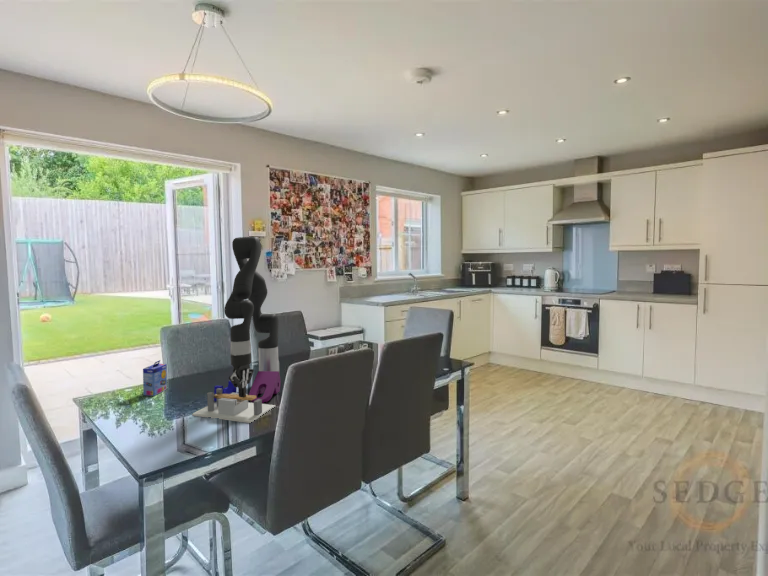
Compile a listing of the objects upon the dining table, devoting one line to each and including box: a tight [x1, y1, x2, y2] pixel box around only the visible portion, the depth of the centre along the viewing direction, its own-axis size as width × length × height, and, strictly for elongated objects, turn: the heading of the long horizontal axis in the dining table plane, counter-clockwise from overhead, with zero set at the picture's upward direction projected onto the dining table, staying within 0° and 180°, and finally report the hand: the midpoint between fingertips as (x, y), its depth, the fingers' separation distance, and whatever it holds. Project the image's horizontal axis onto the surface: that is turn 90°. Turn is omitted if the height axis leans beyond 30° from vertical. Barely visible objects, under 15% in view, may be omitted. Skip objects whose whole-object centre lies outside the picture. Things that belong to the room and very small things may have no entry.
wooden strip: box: [214, 393, 256, 401], centre depth 165 cm, size 19×3×1 cm, turn 73°
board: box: [192, 388, 276, 424], centre depth 167 cm, size 17×26×8 cm, turn 73°
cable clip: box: [213, 380, 237, 402], centre depth 182 cm, size 12×4×6 cm, turn 168°
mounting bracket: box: [248, 370, 282, 404], centre depth 185 cm, size 9×8×18 cm
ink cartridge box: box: [142, 360, 168, 397], centre depth 190 cm, size 10×6×14 cm, turn 175°
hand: (242, 396), depth 163 cm, fingers closed
